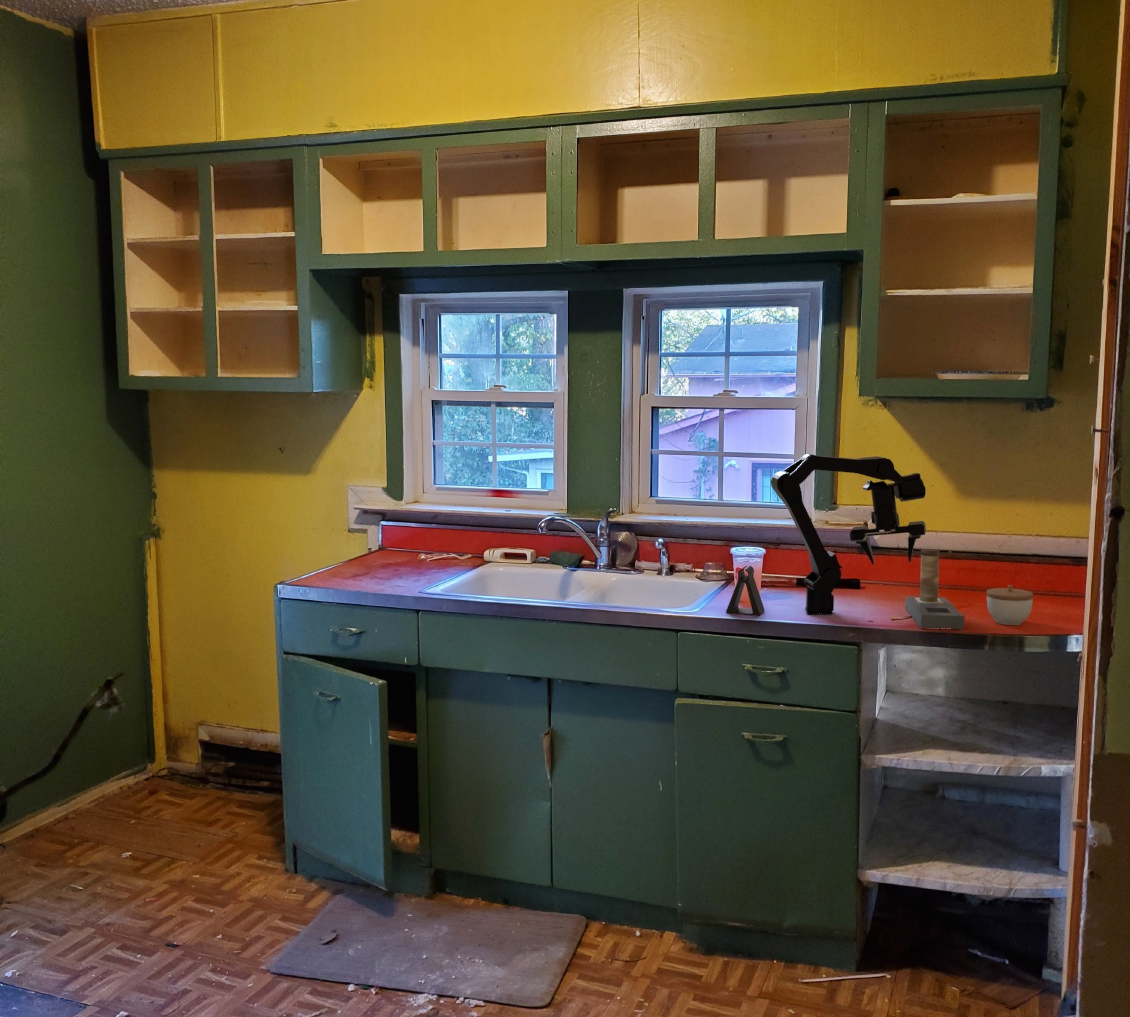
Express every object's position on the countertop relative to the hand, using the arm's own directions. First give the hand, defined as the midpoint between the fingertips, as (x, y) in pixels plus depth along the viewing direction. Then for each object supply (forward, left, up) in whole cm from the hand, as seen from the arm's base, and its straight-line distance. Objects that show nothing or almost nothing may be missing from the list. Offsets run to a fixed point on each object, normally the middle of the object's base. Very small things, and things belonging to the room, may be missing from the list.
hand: (891, 563), depth 275 cm
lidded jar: (+27, -10, -13) cm, 32 cm away
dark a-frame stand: (-38, -6, -13) cm, 40 cm away
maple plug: (+9, -3, -9) cm, 13 cm away
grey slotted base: (+9, -9, -13) cm, 18 cm away
